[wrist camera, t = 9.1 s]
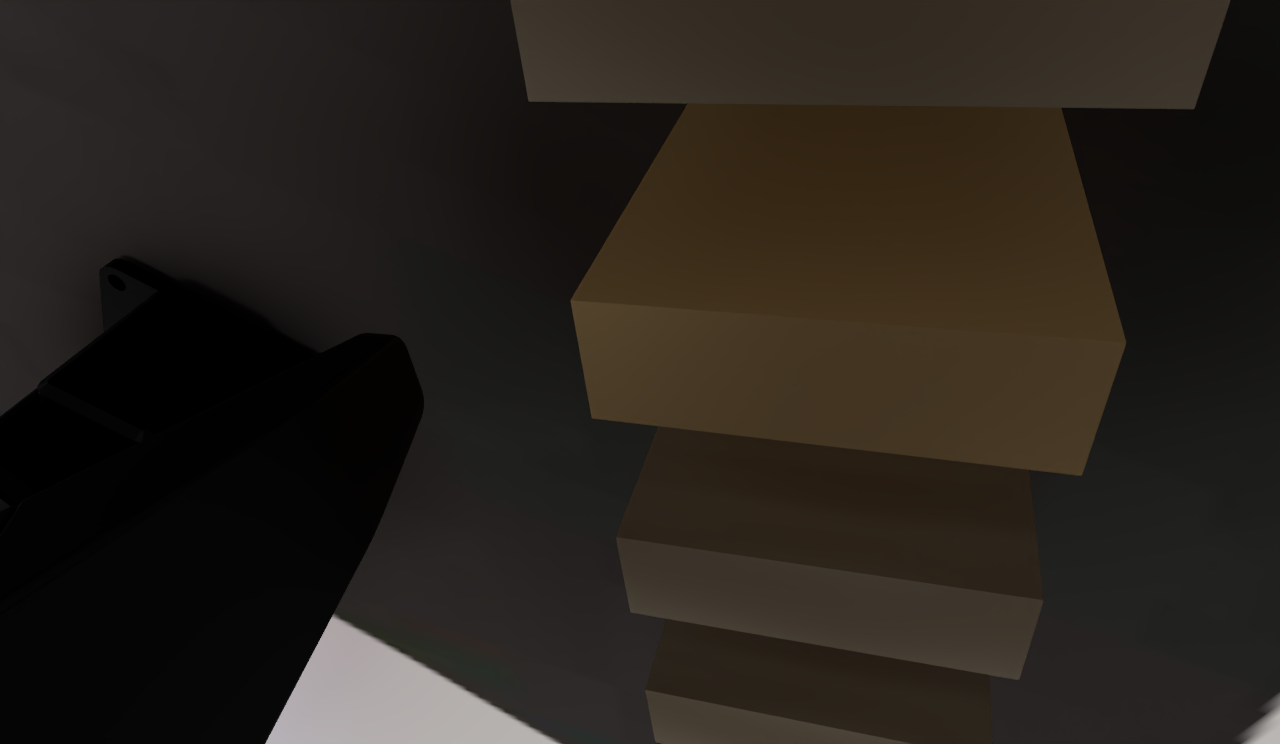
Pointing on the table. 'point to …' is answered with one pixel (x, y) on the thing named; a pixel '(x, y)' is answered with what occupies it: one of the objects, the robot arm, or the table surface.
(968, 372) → the domino
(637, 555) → the domino
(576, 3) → the domino
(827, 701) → the domino
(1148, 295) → the table surface
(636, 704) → the table surface
